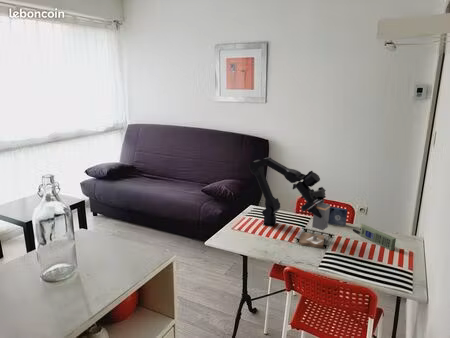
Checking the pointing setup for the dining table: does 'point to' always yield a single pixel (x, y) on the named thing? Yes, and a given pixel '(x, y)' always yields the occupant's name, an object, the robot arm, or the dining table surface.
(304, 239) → the board
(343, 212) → the vhs cassette tape
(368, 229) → the handheld radio
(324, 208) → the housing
